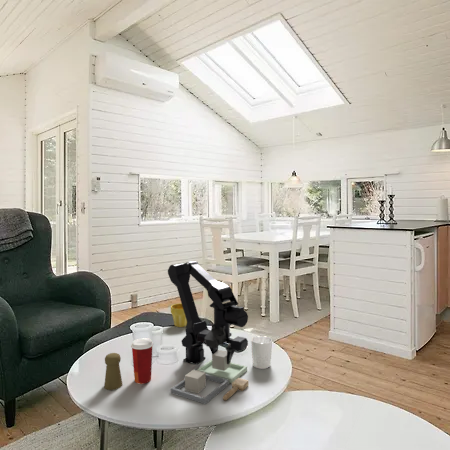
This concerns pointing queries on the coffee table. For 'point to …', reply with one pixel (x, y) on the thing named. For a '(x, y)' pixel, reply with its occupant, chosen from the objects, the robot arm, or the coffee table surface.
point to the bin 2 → (229, 373)
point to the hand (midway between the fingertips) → (222, 362)
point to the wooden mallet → (236, 387)
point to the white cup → (261, 351)
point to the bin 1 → (198, 398)
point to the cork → (112, 372)
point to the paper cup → (142, 360)
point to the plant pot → (178, 315)
